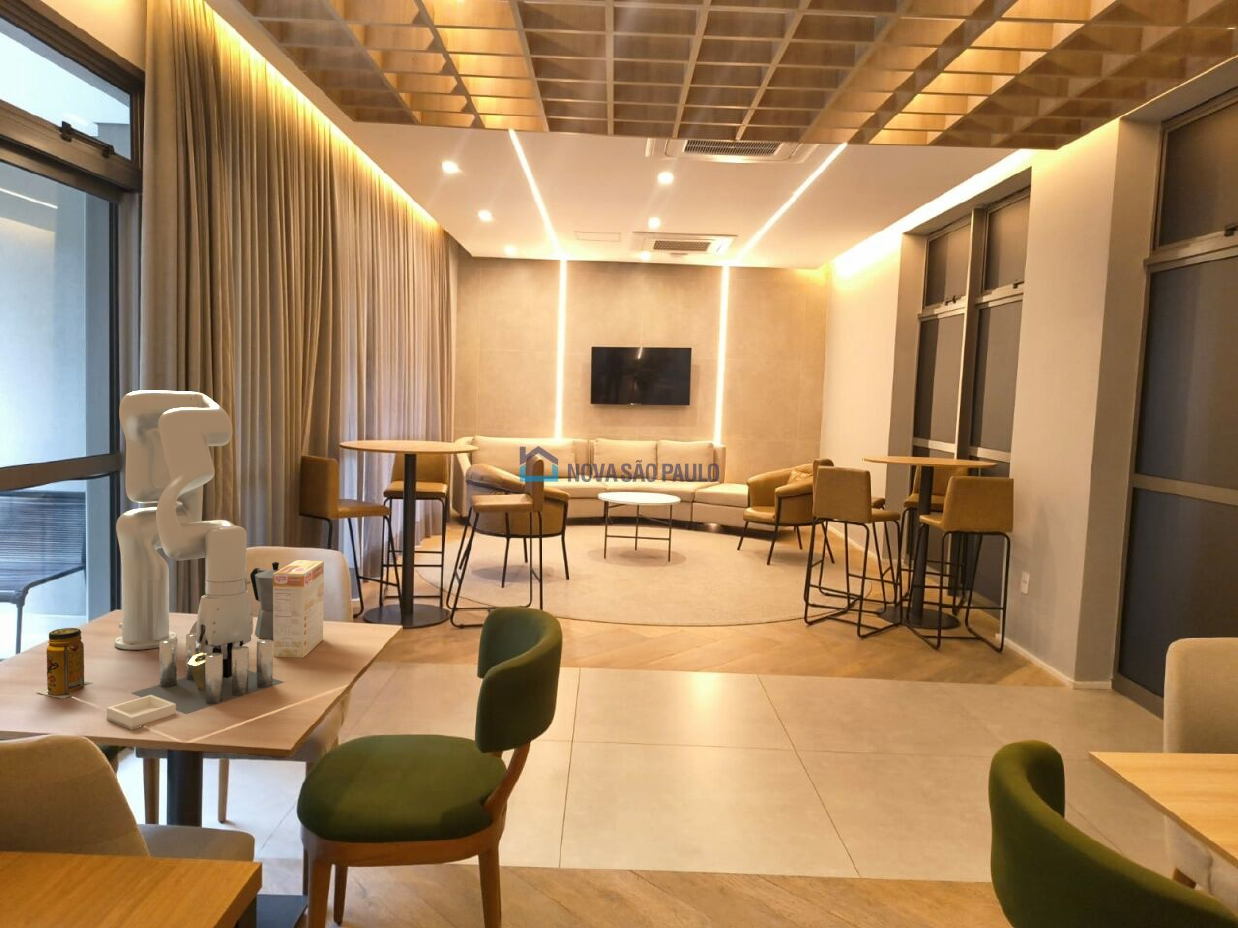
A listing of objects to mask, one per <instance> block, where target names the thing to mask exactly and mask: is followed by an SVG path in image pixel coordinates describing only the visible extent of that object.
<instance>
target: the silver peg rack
mask: <svg viewBox="0 0 1238 928" xmlns="http://www.w3.org/2000/svg"><path fill="white" fill-rule="evenodd" d="M177 640H178V639H165V640H161V641H160V642H159V646H160V647H159V685H160V687H162V688H168V687H173V686H175V685H177V680H178V677H177V675H178V673H177V671H178V667H177V666H178V664H177V663H178V662H177V659H178V657H177V656H178V653H177V652H178V651H177V649H178V648H177V647H178V645H177V643H178V641H177ZM200 647H201V644H200V643H198V642H197V640H196V633H190V632H189V633H187V634H186V635H185V677H186V679H187V680H194V678H193V676H192V674H191V671H190V669H189V666H188V664H187V663H188V662H189V661H190V660H191V658H192V657H193V656H195V655H197V654H200V653H202V652H200ZM249 651H250V650H249V647H248V646H247V645H246V646H245V645H243V646H238V647H234V648H232V695H234V696H240V697H242V696H241V695H243V696H245V694H246V695H249V694H248V676H249V671H250V669H249V667H250V666H249V658H250V657H249ZM273 658H274V656H273V639H260V640H258V641H256V673H257V687H259V688H265V689H267V688H266V687H268V688H271V687H273V686H272V685H273V679H274V676H273V675H274V673H273V672H274V670H273V668H274V667H273V666H274V665H273V664H274V662H273V661H274V659H273ZM270 686H271V687H270ZM222 701H223V654H221V653H211V654H208V655H206V656H205V703H206V704H215V705H218V703H219V704H222V703H223V702H222ZM221 702H222V703H221Z"/></svg>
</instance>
